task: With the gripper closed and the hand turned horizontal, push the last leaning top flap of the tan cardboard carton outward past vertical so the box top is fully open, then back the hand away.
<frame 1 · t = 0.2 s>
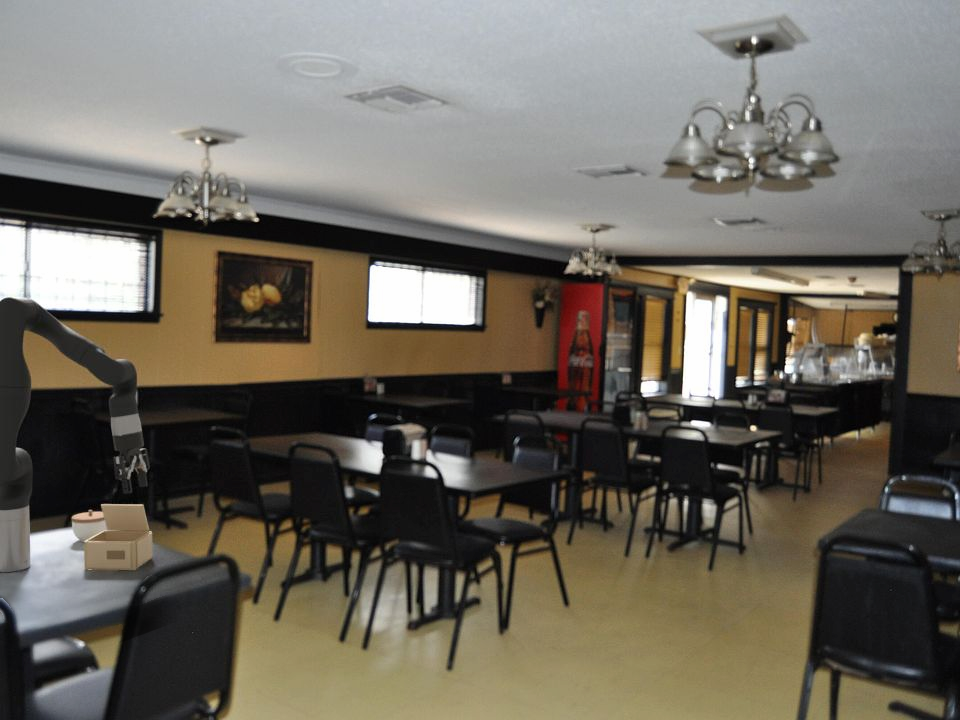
hand: (135, 489, 237), 22 cm above the table, tool pointing down, fingers open, 8 cm apart
flap: (125, 517, 247), point 12 cm above the table, hinge at 25.0°
carton: (119, 564, 244), on the table
lidded jar: (91, 540, 269), on the table
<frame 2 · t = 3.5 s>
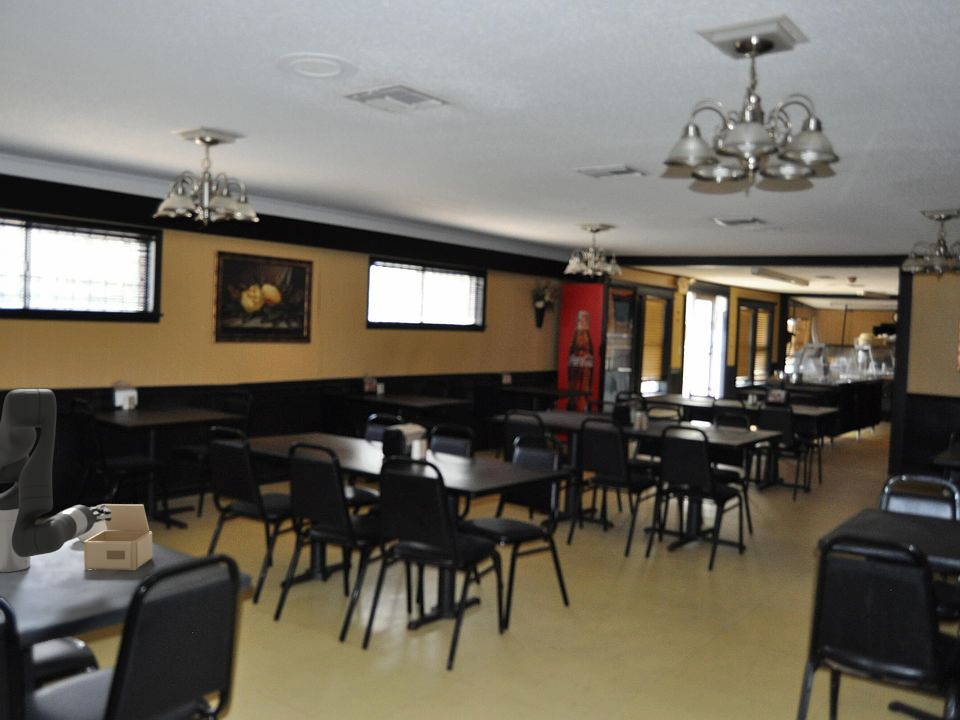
hand: (102, 508, 233), 18 cm above the table, tool horizontal, fingers closed
nothing on the table moved.
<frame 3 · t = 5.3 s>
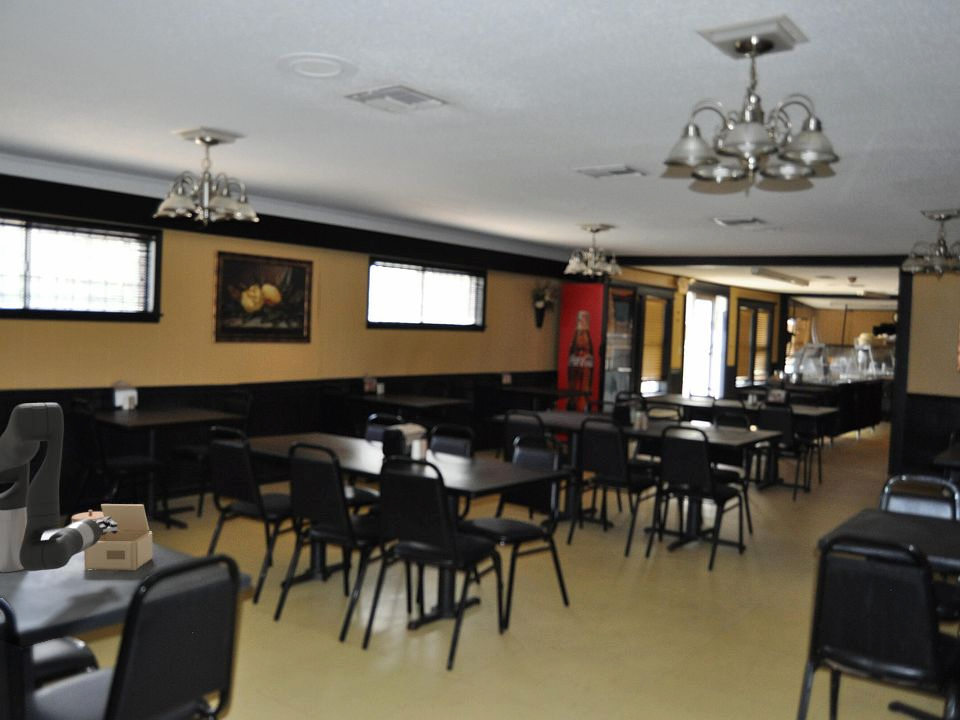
hand: (108, 520, 237), 14 cm above the table, tool horizontal, fingers closed
nothing on the table moved.
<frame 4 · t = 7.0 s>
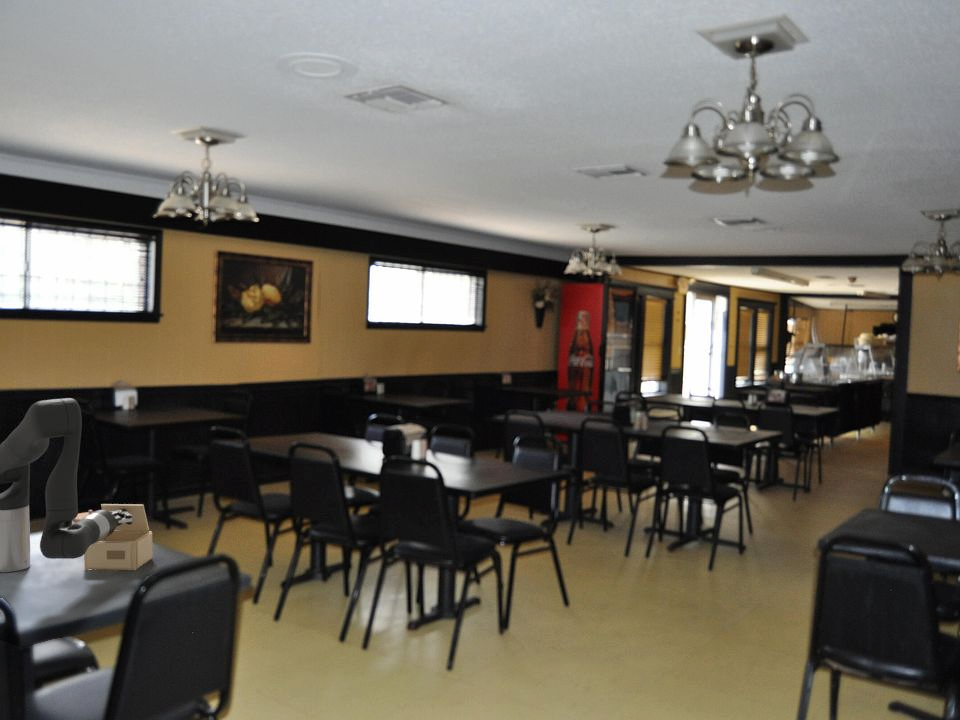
hand: (123, 512, 246), 14 cm above the table, tool horizontal, fingers closed
flap: (125, 517, 247), point 12 cm above the table, hinge at 24.7°, touching gripper
everything else where it was.
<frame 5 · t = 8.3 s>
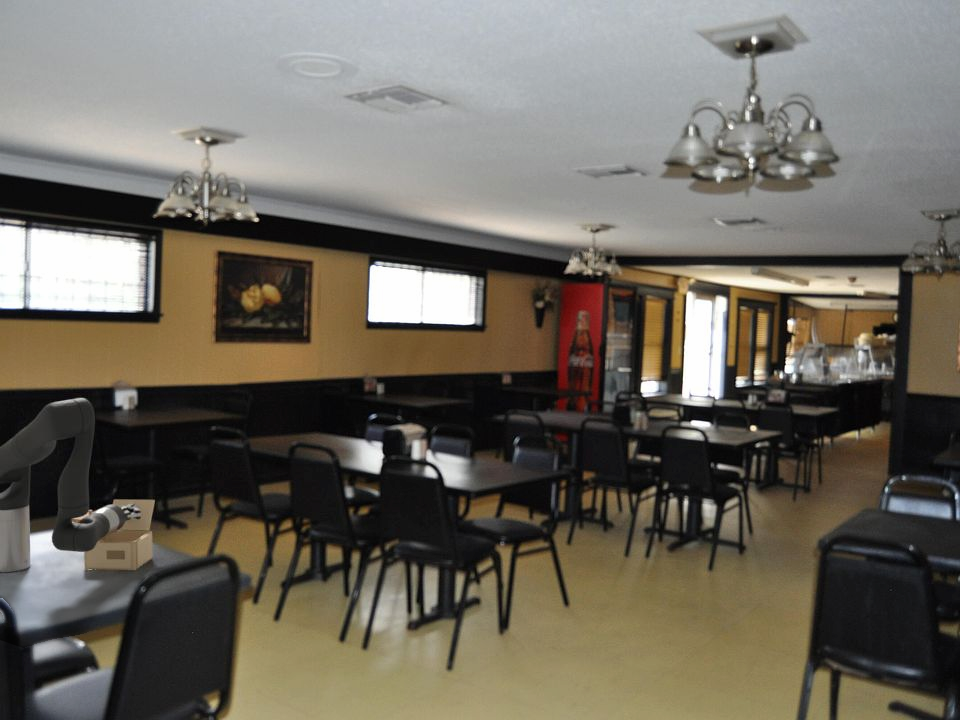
hand: (132, 507, 252), 14 cm above the table, tool horizontal, fingers closed
flap: (131, 514, 252), point 12 cm above the table, hinge at -30.9°, touching gripper
everything else where it was.
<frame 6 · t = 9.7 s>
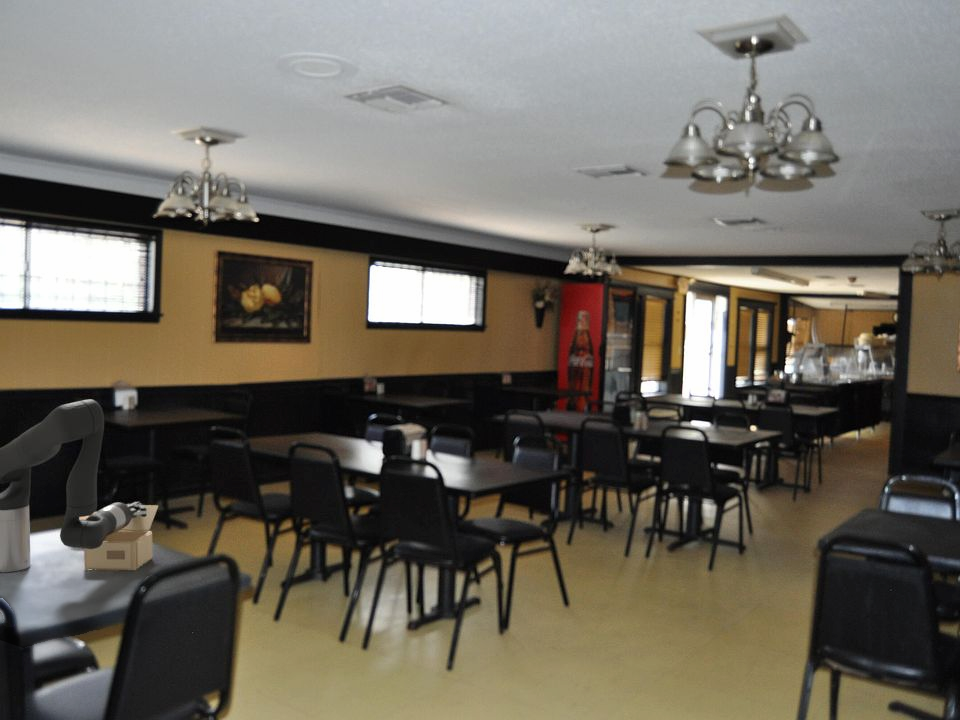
hand: (137, 505, 256), 14 cm above the table, tool horizontal, fingers closed
flap: (133, 517, 253), point 11 cm above the table, hinge at -52.8°, touching gripper
everything else where it was.
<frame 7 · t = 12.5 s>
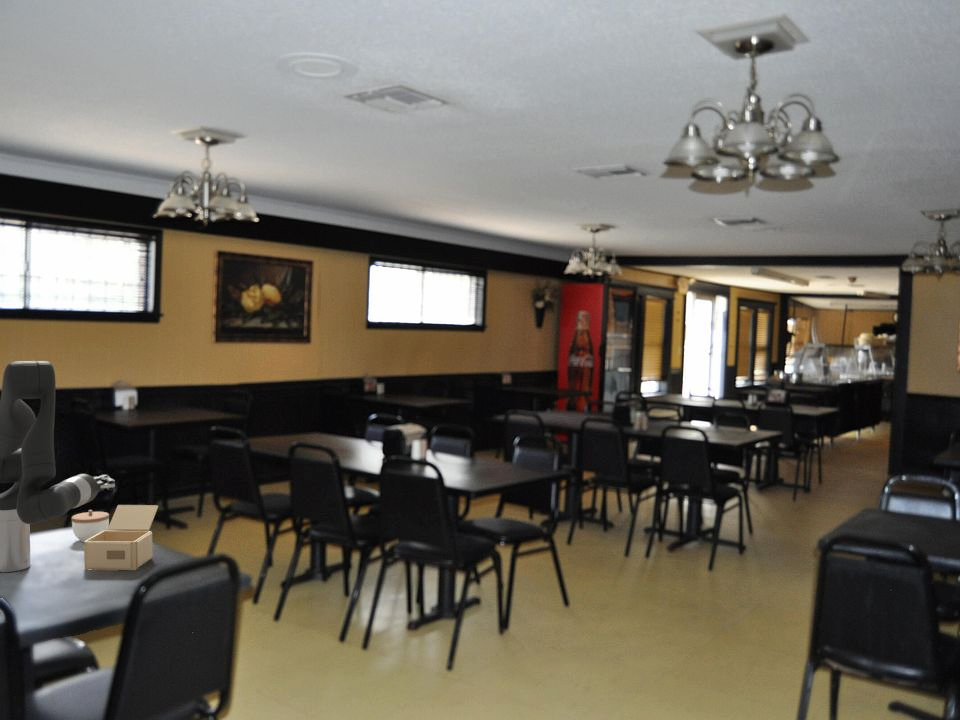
hand: (106, 478, 235), 26 cm above the table, tool horizontal, fingers closed
flap: (133, 517, 253), point 11 cm above the table, hinge at -52.8°
everything else where it was.
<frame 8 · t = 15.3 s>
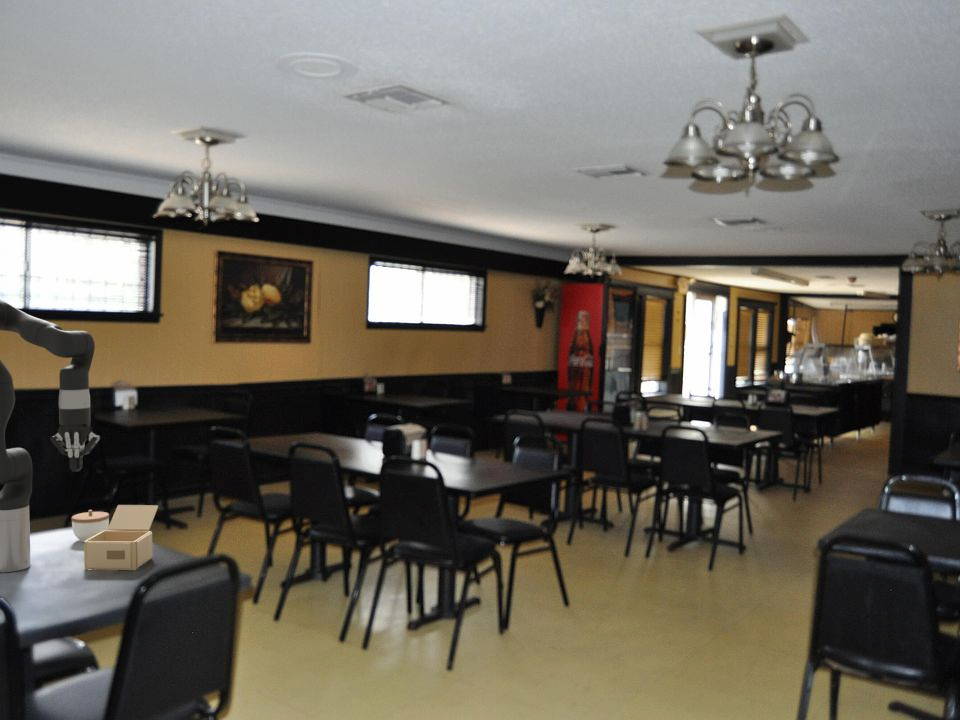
hand: (76, 470, 229), 29 cm above the table, tool pointing down, fingers closed
nothing on the table moved.
at the end: flap at -53° (first picture: +25°); the gripper is holding nothing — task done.
